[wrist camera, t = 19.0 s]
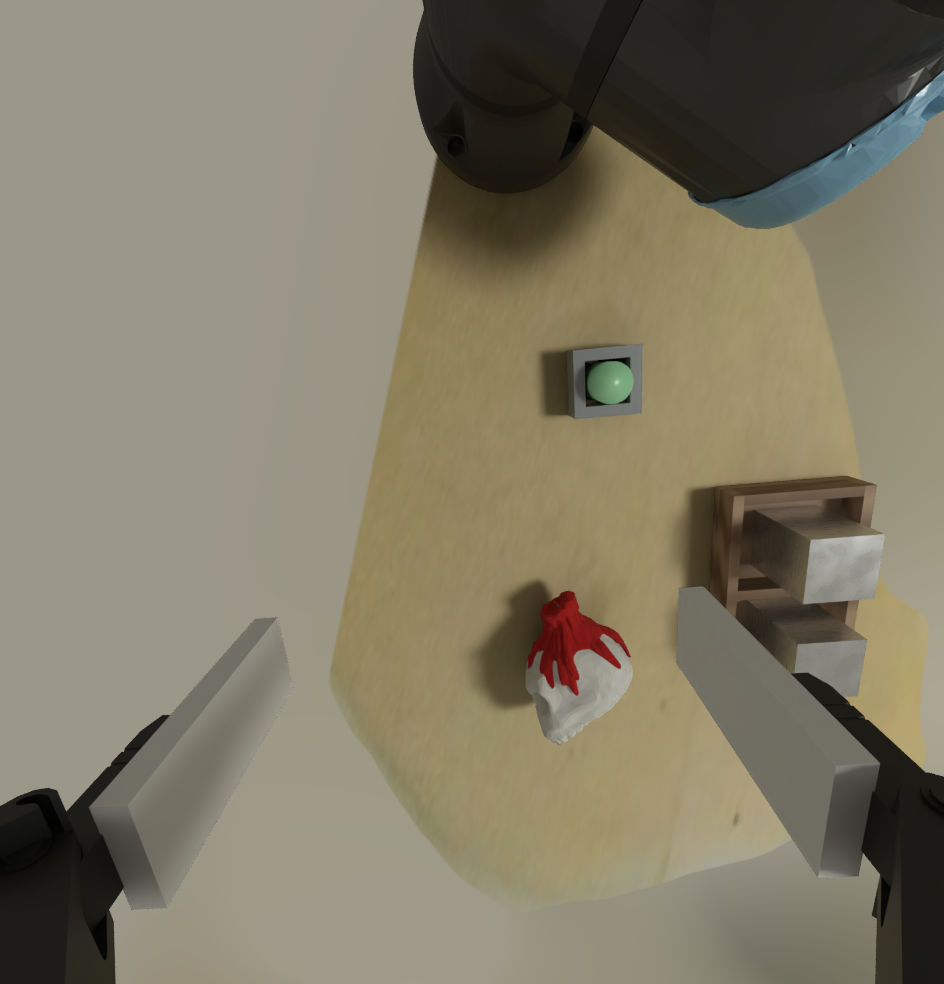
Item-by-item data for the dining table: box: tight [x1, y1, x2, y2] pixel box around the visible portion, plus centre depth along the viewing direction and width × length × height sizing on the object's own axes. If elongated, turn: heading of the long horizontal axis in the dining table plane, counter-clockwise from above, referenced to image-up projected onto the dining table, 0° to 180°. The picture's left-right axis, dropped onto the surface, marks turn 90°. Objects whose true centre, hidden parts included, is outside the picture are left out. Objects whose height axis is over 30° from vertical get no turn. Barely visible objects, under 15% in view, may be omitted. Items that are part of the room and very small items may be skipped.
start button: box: [585, 361, 634, 404], centre depth 41 cm, size 4×4×4 cm
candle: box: [525, 591, 633, 745], centre depth 47 cm, size 9×11×15 cm
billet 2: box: [745, 596, 867, 697], centre depth 45 cm, size 6×6×8 cm
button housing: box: [567, 344, 642, 419], centre depth 42 cm, size 6×6×3 cm
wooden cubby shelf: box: [709, 476, 877, 630], centre depth 47 cm, size 21×13×4 cm, turn 5°
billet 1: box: [750, 505, 885, 604], centre depth 42 cm, size 6×6×8 cm
